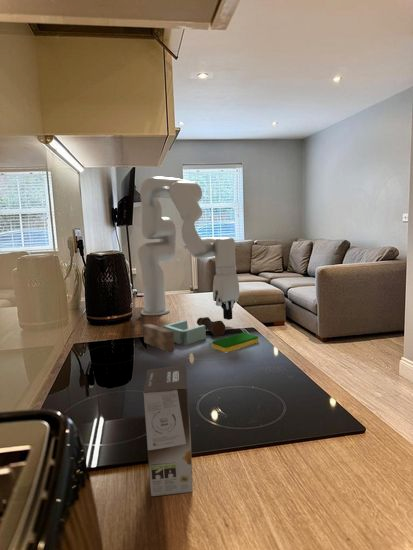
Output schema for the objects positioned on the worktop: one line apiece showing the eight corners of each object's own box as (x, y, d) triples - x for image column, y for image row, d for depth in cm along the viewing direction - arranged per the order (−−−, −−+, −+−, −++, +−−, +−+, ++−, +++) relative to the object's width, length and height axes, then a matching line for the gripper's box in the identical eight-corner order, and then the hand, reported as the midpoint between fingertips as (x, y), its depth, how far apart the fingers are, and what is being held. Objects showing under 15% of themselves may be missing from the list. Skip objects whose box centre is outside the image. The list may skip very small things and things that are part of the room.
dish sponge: (211, 348, 119) (211, 341, 118) (244, 338, 127) (243, 331, 126) (225, 354, 113) (225, 346, 113) (259, 343, 121) (258, 336, 121)
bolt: (202, 330, 144) (221, 339, 131) (191, 326, 142) (210, 334, 129) (208, 316, 145) (227, 323, 132) (197, 311, 143) (216, 318, 129)
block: (163, 338, 130) (162, 325, 130) (185, 332, 137) (184, 320, 136) (183, 345, 122) (182, 332, 121) (205, 338, 128) (205, 325, 127)
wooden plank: (144, 342, 127) (142, 325, 126) (150, 340, 129) (149, 323, 128) (168, 351, 116) (166, 333, 116) (174, 349, 118) (173, 331, 117)
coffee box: (194, 492, 55) (187, 388, 53) (150, 497, 55) (141, 392, 52) (191, 454, 64) (185, 364, 62) (153, 458, 64) (146, 368, 61)
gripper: (232, 267, 147) (234, 313, 150) (204, 272, 138) (206, 321, 140) (247, 269, 142) (248, 316, 144) (217, 274, 132) (220, 324, 135)
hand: (227, 318), depth 142 cm, fingers closed
